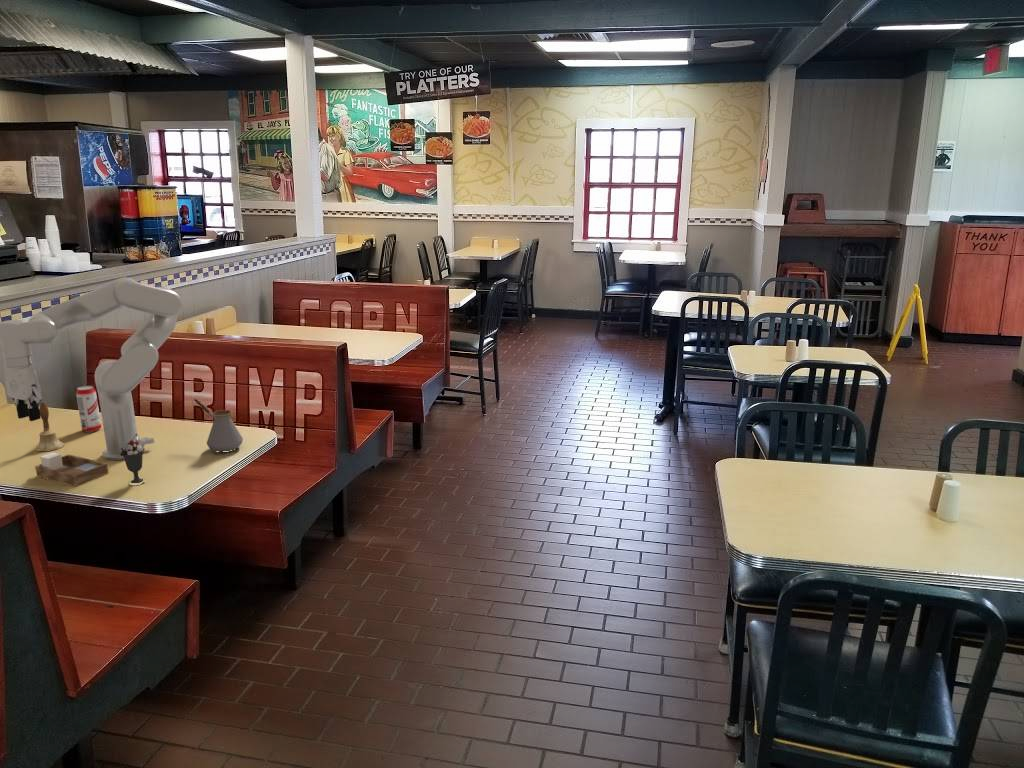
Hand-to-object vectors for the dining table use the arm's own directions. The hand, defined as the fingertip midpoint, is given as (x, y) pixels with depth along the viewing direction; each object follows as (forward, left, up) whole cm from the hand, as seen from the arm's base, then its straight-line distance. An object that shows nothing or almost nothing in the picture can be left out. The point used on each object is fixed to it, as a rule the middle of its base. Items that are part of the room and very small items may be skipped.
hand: (29, 418), depth 236 cm
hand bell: (-6, -21, -18) cm, 28 cm away
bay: (-11, +12, -17) cm, 24 cm away
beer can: (-21, -31, -18) cm, 41 cm away
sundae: (-21, +29, -18) cm, 40 cm away
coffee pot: (-51, +14, -18) cm, 55 cm away
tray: (-7, +10, -17) cm, 22 cm away
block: (-3, +6, -15) cm, 17 cm away
